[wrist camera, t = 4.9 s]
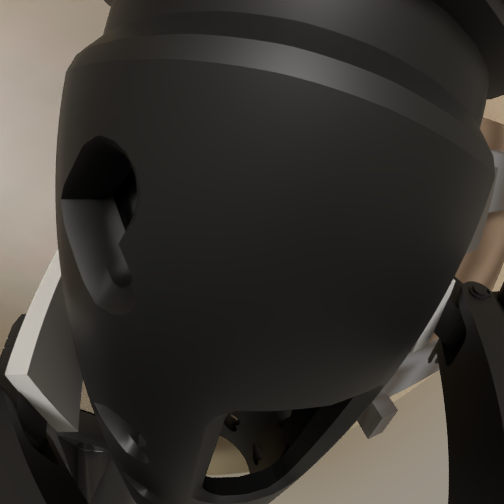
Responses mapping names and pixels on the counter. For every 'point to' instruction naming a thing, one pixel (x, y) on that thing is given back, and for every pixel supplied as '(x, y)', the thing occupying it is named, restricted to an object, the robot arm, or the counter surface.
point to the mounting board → (471, 269)
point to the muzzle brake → (263, 220)
